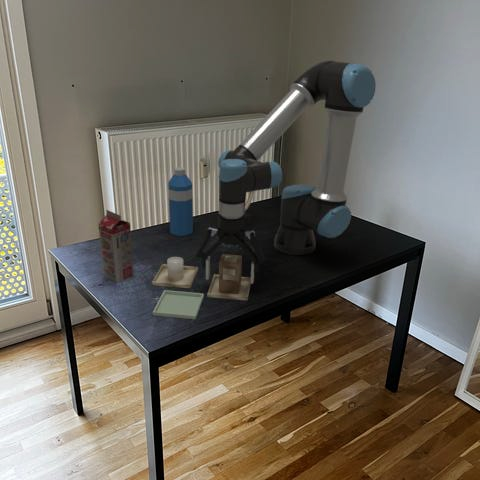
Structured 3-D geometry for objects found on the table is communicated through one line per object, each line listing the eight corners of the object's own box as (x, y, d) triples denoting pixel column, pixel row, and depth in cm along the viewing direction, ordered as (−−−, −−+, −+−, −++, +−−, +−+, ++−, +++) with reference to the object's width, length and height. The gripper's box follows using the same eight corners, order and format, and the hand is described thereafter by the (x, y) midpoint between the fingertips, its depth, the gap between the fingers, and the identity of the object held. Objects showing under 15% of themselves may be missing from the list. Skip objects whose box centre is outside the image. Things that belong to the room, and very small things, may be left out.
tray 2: (203, 298, 142) (203, 293, 141) (195, 321, 131) (195, 316, 130) (164, 294, 143) (164, 290, 142) (152, 317, 132) (152, 312, 131)
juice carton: (120, 270, 156) (115, 207, 147) (133, 276, 152) (129, 212, 143) (103, 277, 151) (97, 212, 142) (116, 284, 148) (110, 218, 138)
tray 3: (251, 282, 151) (251, 277, 150) (247, 302, 140) (247, 297, 140) (214, 278, 152) (214, 274, 152) (207, 298, 142) (207, 293, 141)
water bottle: (189, 237, 181) (188, 173, 170) (166, 234, 183) (163, 171, 172) (196, 227, 189) (195, 166, 179) (173, 225, 191) (171, 164, 180)
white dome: (185, 274, 154) (184, 257, 151) (181, 281, 149) (181, 264, 146) (170, 272, 154) (169, 256, 152) (166, 280, 150) (165, 263, 147)
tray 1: (198, 271, 157) (198, 267, 156) (190, 289, 146) (190, 285, 145) (162, 268, 158) (162, 264, 157) (152, 286, 147) (151, 282, 146)
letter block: (241, 284, 148) (241, 255, 144) (238, 294, 143) (239, 264, 139) (221, 282, 149) (222, 253, 145) (218, 292, 144) (219, 262, 139)
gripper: (276, 212, 138) (271, 277, 147) (191, 206, 141) (192, 270, 149) (274, 222, 131) (270, 289, 140) (185, 215, 134) (186, 281, 143)
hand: (229, 279), depth 145 cm, fingers open, 13 cm apart
